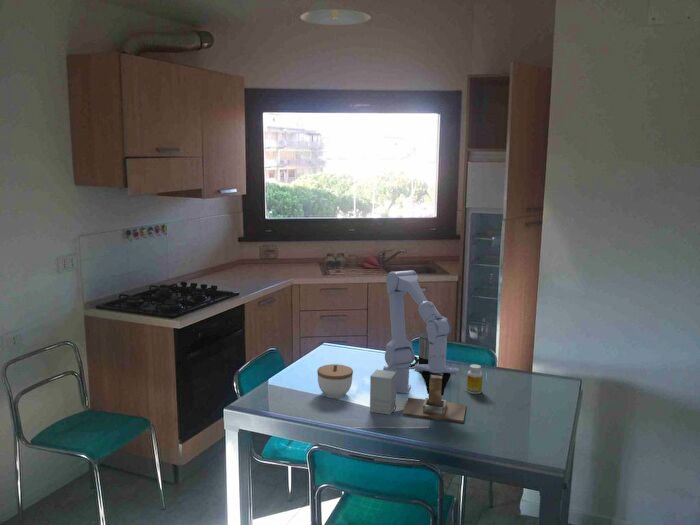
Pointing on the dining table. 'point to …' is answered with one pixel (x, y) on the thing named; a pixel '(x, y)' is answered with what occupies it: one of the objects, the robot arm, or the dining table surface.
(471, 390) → the supplement bottle
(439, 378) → the brown wooden block
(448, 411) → the holder board
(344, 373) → the lidded bowl
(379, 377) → the supplement box
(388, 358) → the robot arm
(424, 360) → the milk frother
